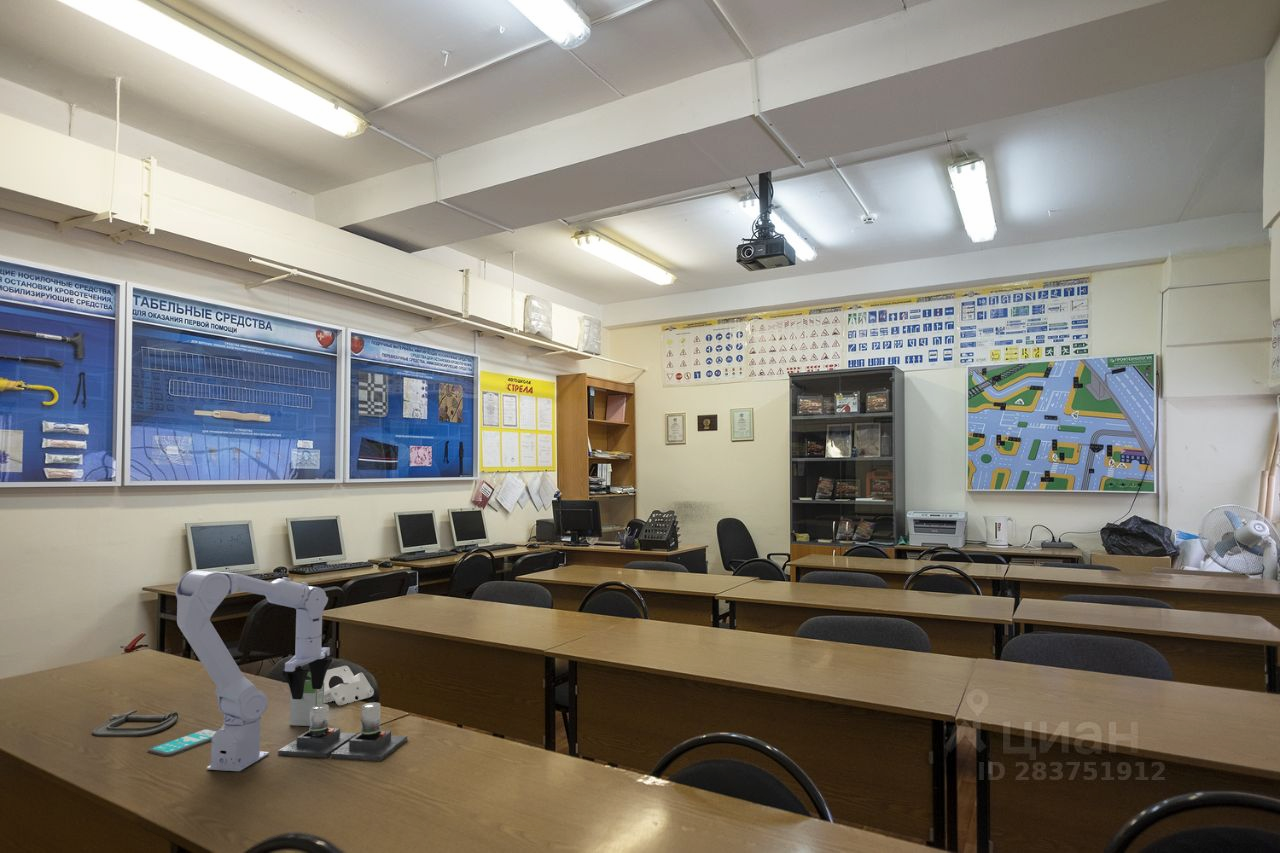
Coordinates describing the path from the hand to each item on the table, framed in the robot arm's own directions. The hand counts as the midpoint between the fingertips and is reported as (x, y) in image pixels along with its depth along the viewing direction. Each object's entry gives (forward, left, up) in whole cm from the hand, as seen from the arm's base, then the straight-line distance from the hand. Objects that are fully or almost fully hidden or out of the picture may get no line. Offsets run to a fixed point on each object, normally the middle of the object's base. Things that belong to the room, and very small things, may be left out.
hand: (307, 693), depth 165 cm
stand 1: (-4, -6, -10) cm, 13 cm away
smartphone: (-6, +26, -11) cm, 29 cm away
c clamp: (+3, +48, -11) cm, 50 cm away
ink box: (+9, +6, -11) cm, 15 cm away
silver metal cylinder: (-4, -6, -7) cm, 10 cm away
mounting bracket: (+28, +7, -11) cm, 31 cm away
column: (-4, -19, -7) cm, 20 cm away
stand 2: (-4, -19, -10) cm, 22 cm away
